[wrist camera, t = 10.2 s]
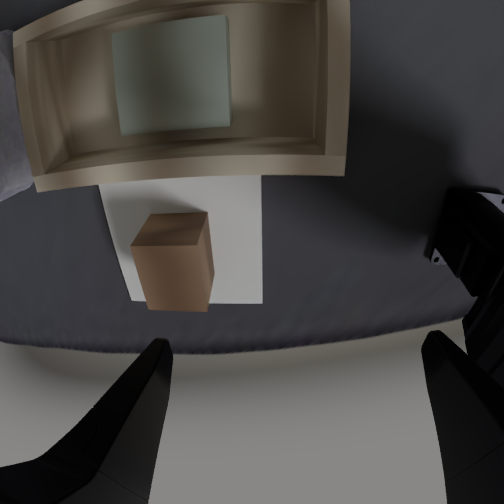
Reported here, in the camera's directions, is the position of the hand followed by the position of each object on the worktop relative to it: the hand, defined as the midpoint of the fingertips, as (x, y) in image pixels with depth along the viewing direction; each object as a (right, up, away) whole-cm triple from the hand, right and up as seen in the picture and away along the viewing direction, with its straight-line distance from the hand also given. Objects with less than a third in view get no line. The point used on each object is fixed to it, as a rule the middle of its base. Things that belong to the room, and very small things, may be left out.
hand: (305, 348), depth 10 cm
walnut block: (-7, +4, +12) cm, 14 cm away
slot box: (-6, +13, +6) cm, 16 cm away
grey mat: (-7, +4, +12) cm, 14 cm away
